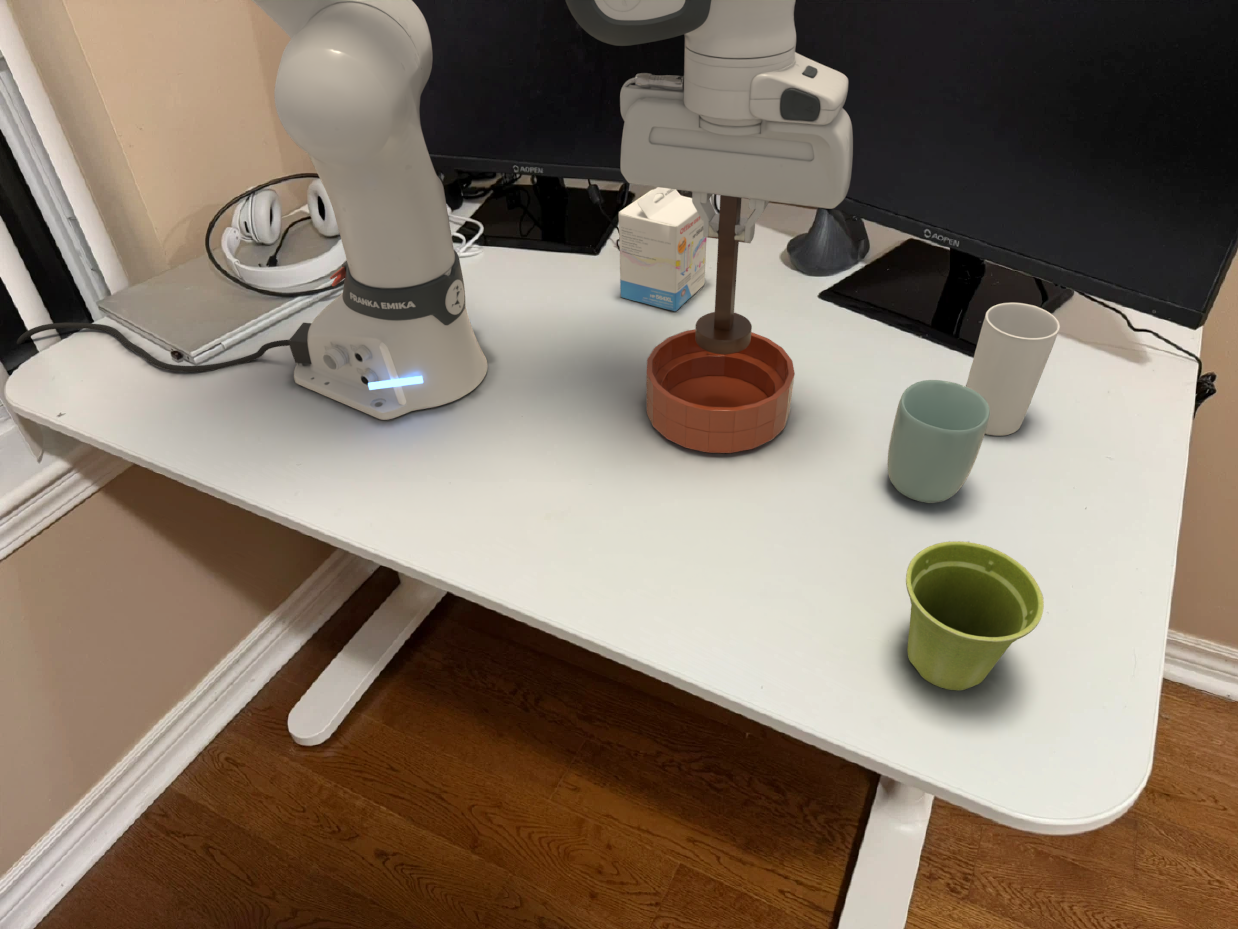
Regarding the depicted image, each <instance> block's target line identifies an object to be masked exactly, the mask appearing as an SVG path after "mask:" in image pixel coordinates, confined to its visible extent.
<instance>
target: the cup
mask: <svg viewBox="0 0 1238 929" xmlns="http://www.w3.org/2000/svg"><path fill="white" fill-rule="evenodd" d="M989 417H990V408H989V406H988V403H987V401H986V400H985V399H984V397H982V396H981V395H980V394H979V393H977V392H976V391H974V390H972V389H970V388H968V387H966V385H962V384H960V383H956V382H952V381H947V380H941V379H940V380H939V379H926V380H920V381H916V382H914V383H913V384H910V385H909V386H908V387H906V389H905V390H904V391H903V392H902V394H901V396H900V399H899V400H898V404H897V408H896V412H895V416H894V420H893V423H892V429H891V434H890V438H889V443H888V449H887V450H888V451H887V464H886V465H887V473H888V477H889V480H890V482H891V485H892V486H893V487H894V488H895V489H896V490H897V491H898V493H900V494H901V495H903V496H904V497H906V498H908V499H910V500H914V501H916V502H920V503H927V504H936V503H941V502H944V501H947V500H949V499H951V498H952V497H953V496H955V495H956V494H957V493H958V492H959V491H960V490H961V489H962V487H963V486H964V484H965V483H966V481H967V479H968V477H969V476H970V474H971V472H972V470H973V467H974V465H975V463H976V460H977V457H978V454H979V453H980V449H981V447H982V444H983V441H984V438H985V435H986V434H985V432H986V429H987V425H988V421H989Z"/></svg>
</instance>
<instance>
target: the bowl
mask: <svg viewBox="0 0 1238 929" xmlns="http://www.w3.org/2000/svg"><path fill="white" fill-rule="evenodd" d="M695 330H696V328H694V329H690V330H684V331H681V332H679V333H676V334H674V335H671V336H669V337H667V338H666V339H664V340H663V341H661V342H660V343H659V344H657V345H655V347H653V349H652V351H651V353H650V354H649V356H648V357H647V358H646V372H645V373H646V374H645V375H646V377H645V378H646V382H645V383H646V415H647V417H648V419H649V421H650V423H651V425H652V427H653V428H654V429H655V430H656V431H657V432H658V433H660V434H661V436H663V437H664V438H665V439H666V440H669V441H671V442H673V443H675V444H677V445H679V446H681V447H683V448H686V449H689V450H693V451H699V452H703V453H708V454H709V453H714V454H725V453H726V454H732V453H733V454H734V453H739V452H744V451H748V450H749V451H750V450H753V449H756V448H758V447H760V446H762V445H764V444H766V443H769V442H772V441H773V440H774V439H775V438H776V437H777V436H778V435H779V434H780V433H781V432H782V431H783V430H784V429H785V427H786V424H787V422H788V419H789V417H790V412H791V405H792V397H793V388H794V381H795V375H796V374H795V367H794V362H793V359H792V358H791V357H790V356H789V354H788V353H787V351H786V350H785V349H784V348H783V347H782V346H780V345H779V344H777V343H776V342H775V341H773V340H772V339H770V338H768V337H766V336H763V335H760V334H758V333H755V332H753V331H751V341H750V344H749V345H748V347H747V348H745V349H744V350H742V351H740V352H737V353H733V354H715V353H711V352H708V351H706V350H704V349H702V348H701V347H700V346H698V344H697V343H696V340H695Z"/></svg>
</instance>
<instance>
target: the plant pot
mask: <svg viewBox="0 0 1238 929" xmlns="http://www.w3.org/2000/svg"><path fill="white" fill-rule="evenodd" d="M1033 576H1034V575H1032V574H1031V573H1030V571H1028V570H1027V569H1026V568H1025V566H1024V565H1022V564H1021V563H1020V562H1019V561H1017V560H1016V559H1014V558H1013V557H1011V556H1010V555H1008V554H1006V553H1004V552H1003V551H1000V550H998V549H995V548H993V547H991V546H988V545H985V544H981V543H975V542H970V541H961V540H958V541H957V540H955V541H942V542H938V543H935V544H931V545H929V546H926V547H925V548H924V549H921V551H919V552H918V553H916V554H915V555H914V556H913V557H912V558H911V560H910V561H909V564H908V566H907V568H906V575H905V586H906V590H907V594H908V597H909V600H910V614H909V615H910V616H909V628H908V636H907V637H908V638H907V647H906V648H907V658H908V660H909V662H910V663H911V664H912V666H913V667H914V668H915V669H916V671H917V672H918V674H919V675H920V676H921V677H922V678H923V679H924V680H925V681H926V682H928V683H930V684H932V685H934V686H936V687H938V688H941V689H944V690H950V691H964V690H967V689H970V688H972V687H975V686H977V685H979V684H981V683H982V682H983V681H984V680H985V679H986V677H987V676H988V675H989V674H990V672H991V671H992V670H993V668H995V666H996V664H997V663H998V662H999V661H1000V660H1001V658H1002V657H1003V655H1004V654H1005V652H1006V651H1007V650H1008V649H1009V648H1010V646H1011V645H1012V644H1013V643H1015V642H1016V641H1017V640H1020V639H1022V638H1024V637H1026V636H1028V635H1029V634H1031V632H1033V631H1034V630H1035V628H1037V626H1038V625H1039V624H1040V622H1041V619H1042V617H1043V614H1044V607H1045V605H1044V604H1045V601H1044V596H1043V593H1042V590H1041V588H1040V585H1039V584H1038V582H1037V580H1036V579H1035V578H1034V577H1033Z"/></svg>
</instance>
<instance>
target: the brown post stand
mask: <svg viewBox="0 0 1238 929" xmlns="http://www.w3.org/2000/svg"><path fill="white" fill-rule="evenodd" d="M741 211H742V198H740V197H732V196H724V195H719V211H718V212H719V213H718V214H719V236H718V239H717V253H716V254H717V256H716V257H717V258H716V276H715V278H716V279H715V297H714V298H715V300H714V311H713V312H709V313H708V312H707V313H705V314H703V315H702V316H700V317H699V318H698V319H697V321H696V323H695V329H696V330H695V340H696V343H697V344H698V346H700V347H701V348H702V349H704V350H706V351H708V352H711V353H715V354H733V353H737V352H740V351H742V350H744V349H745V348H747V347H748V345H749V344H750V341H751V332H753V331H752V330H753V328H752V326H753V325H752V323H751V322H750V320H749V319H748V318H747V317H746V316H744V315H742V314H739V313H737V312H735V305H736V304H735V303H736V289H737V274H738V257H739V244H740V242H736V241H734V236H735V235H736V233H735V225H736V224H737V222H738V221H739V219H740V217H741V214H742V212H741Z"/></svg>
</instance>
